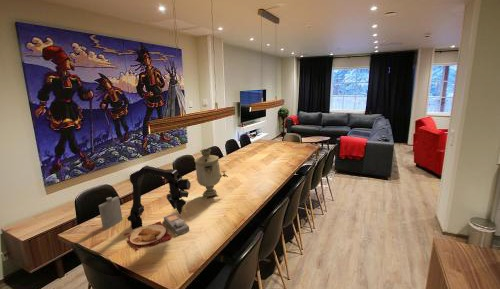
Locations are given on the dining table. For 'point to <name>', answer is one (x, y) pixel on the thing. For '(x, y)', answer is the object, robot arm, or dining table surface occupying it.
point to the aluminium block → (178, 223)
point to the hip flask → (110, 212)
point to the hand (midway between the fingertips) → (177, 211)
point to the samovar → (208, 172)
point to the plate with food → (148, 235)
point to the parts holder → (171, 224)
